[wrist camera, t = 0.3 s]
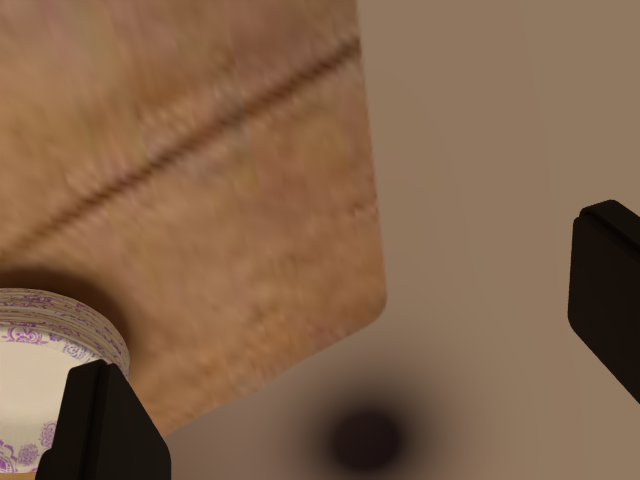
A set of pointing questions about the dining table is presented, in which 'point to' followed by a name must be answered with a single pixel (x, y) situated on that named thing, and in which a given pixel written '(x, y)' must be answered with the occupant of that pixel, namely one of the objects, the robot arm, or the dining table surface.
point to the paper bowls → (44, 366)
